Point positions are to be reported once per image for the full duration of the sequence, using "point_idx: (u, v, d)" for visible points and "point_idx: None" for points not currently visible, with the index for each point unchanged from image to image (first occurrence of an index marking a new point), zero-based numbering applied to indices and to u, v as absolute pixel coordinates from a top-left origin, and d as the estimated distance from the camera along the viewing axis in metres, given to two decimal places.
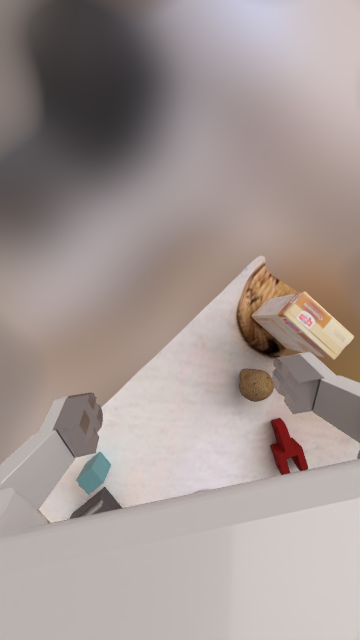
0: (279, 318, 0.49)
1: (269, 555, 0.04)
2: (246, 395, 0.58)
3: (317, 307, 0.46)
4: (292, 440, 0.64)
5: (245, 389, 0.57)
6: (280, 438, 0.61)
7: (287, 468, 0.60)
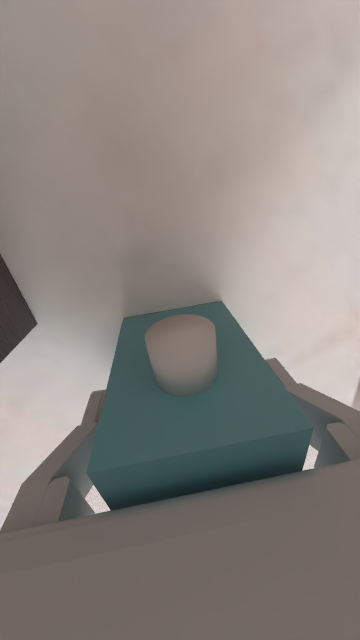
0: None
1: (269, 555, 0.04)
2: None
3: None
4: None
5: None
6: None
7: None
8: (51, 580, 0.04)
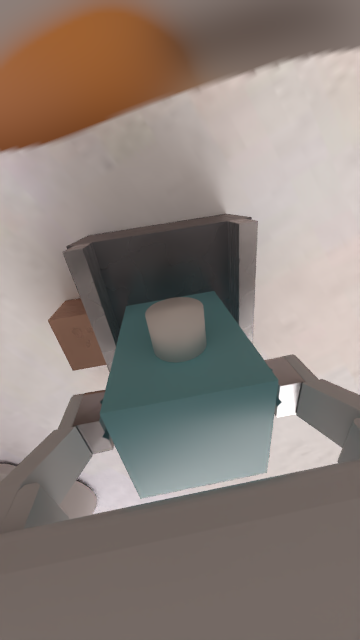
0: None
1: (269, 555, 0.04)
2: None
3: None
4: None
5: None
6: None
7: None
8: (51, 580, 0.04)
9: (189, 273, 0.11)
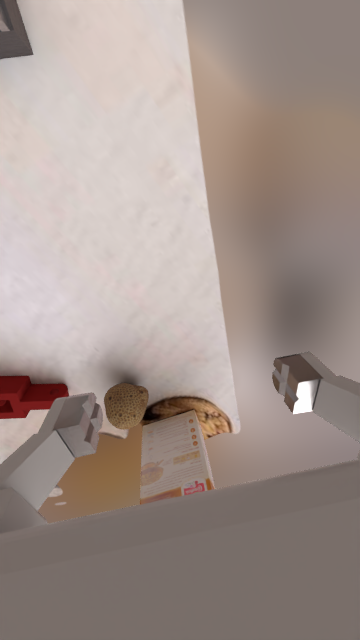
0: (202, 476, 0.43)
1: (269, 555, 0.04)
2: (120, 398, 0.42)
3: None
4: None
5: (130, 401, 0.42)
6: (41, 397, 0.44)
7: None
8: (51, 580, 0.04)
9: None
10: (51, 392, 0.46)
